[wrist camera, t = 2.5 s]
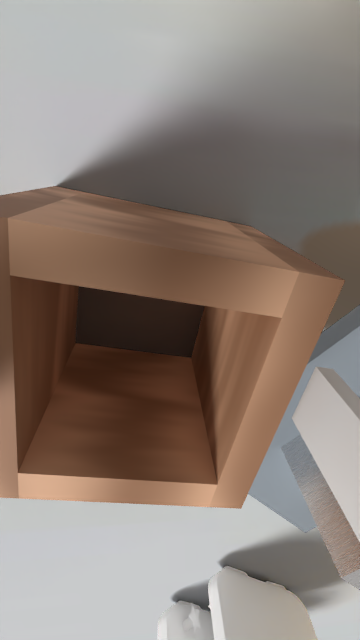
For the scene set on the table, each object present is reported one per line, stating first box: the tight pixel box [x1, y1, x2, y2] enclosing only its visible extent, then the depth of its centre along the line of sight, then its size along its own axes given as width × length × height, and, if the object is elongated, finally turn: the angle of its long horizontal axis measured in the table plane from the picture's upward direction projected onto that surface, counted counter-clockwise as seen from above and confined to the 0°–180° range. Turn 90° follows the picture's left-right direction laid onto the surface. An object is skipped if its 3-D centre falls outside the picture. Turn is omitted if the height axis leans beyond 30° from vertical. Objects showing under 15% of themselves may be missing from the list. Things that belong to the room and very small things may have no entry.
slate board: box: [248, 305, 360, 533], centre depth 23 cm, size 16×16×2 cm
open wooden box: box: [0, 186, 345, 508], centre depth 14 cm, size 10×10×9 cm
